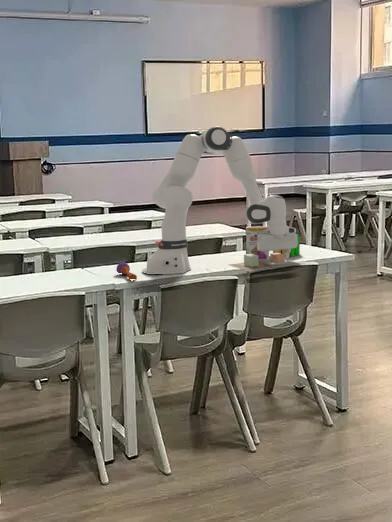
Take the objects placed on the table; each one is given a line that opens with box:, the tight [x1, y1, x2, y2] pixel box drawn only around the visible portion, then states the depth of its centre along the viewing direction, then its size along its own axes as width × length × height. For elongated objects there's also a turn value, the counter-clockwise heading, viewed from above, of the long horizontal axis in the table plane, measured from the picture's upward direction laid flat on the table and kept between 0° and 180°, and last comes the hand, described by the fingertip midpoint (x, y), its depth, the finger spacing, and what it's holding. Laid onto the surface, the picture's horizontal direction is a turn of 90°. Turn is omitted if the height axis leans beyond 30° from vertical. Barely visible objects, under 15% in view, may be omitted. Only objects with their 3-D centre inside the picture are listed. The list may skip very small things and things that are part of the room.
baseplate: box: [229, 260, 274, 271], centre depth 323 cm, size 16×16×1 cm
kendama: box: [115, 261, 138, 280], centre depth 313 cm, size 6×6×20 cm
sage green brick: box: [243, 253, 259, 267], centre depth 323 cm, size 4×6×5 cm, turn 24°
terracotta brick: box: [269, 252, 286, 264], centre depth 331 cm, size 4×6×5 cm, turn 24°
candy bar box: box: [245, 225, 270, 260], centre depth 341 cm, size 11×5×16 cm, turn 84°
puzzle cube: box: [272, 234, 301, 258], centre depth 354 cm, size 10×10×10 cm
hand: (277, 259), depth 331 cm, fingers open, 8 cm apart
